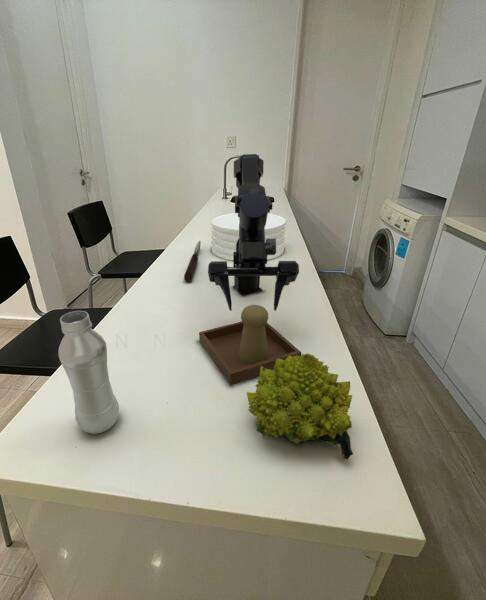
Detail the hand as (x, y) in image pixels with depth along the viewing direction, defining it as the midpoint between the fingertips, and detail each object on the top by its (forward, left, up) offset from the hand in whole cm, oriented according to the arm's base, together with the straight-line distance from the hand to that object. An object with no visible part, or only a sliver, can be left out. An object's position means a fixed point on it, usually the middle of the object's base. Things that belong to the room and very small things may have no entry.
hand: (252, 310), depth 68 cm
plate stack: (-31, -58, -9) cm, 66 cm away
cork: (+2, +4, -8) cm, 9 cm away
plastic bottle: (+33, +9, -9) cm, 35 cm away
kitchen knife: (-8, -53, -6) cm, 54 cm away
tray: (+2, +2, -9) cm, 9 cm away
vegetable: (+4, +22, -9) cm, 24 cm away
